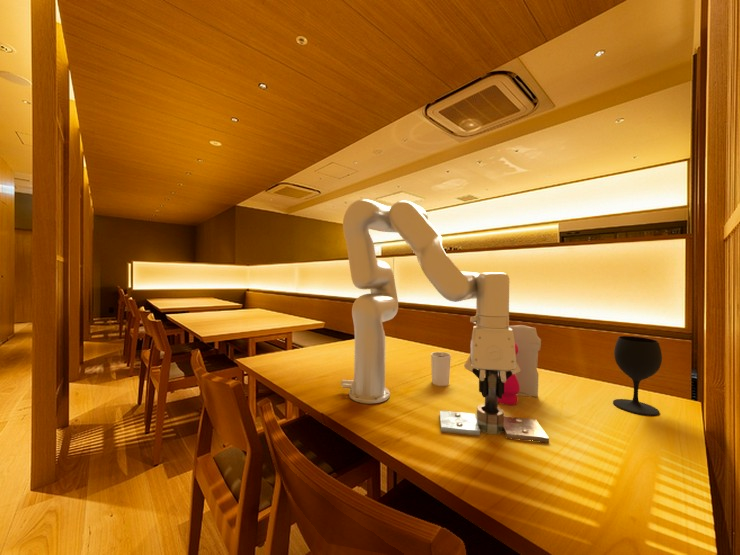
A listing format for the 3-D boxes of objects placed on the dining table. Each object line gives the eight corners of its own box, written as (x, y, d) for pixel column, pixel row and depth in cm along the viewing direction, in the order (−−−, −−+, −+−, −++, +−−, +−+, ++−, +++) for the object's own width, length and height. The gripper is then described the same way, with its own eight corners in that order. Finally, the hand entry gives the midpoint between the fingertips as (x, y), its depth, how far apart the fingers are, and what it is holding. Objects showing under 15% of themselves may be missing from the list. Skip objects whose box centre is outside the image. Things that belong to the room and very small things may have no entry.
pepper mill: (522, 407, 90) (523, 338, 89) (495, 404, 91) (497, 336, 90) (515, 397, 97) (517, 333, 96) (491, 395, 98) (492, 331, 98)
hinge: (441, 431, 75) (441, 413, 75) (439, 414, 84) (440, 398, 84) (548, 443, 71) (549, 423, 71) (535, 423, 80) (535, 406, 80)
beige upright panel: (539, 394, 99) (541, 325, 98) (539, 399, 95) (541, 327, 95) (503, 388, 104) (504, 322, 103) (501, 392, 100) (503, 324, 100)
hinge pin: (485, 410, 76) (486, 369, 76) (483, 404, 79) (484, 365, 79) (498, 411, 76) (499, 370, 75) (496, 405, 79) (496, 366, 78)
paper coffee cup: (452, 382, 109) (453, 353, 109) (446, 388, 103) (447, 358, 103) (434, 378, 113) (435, 350, 112) (427, 383, 107) (428, 355, 107)
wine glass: (651, 404, 93) (653, 337, 92) (666, 419, 83) (669, 345, 83) (608, 397, 97) (610, 334, 97) (618, 411, 88) (620, 340, 87)
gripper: (459, 323, 75) (458, 399, 75) (532, 326, 72) (531, 405, 72) (456, 318, 82) (456, 387, 82) (523, 320, 79) (522, 392, 79)
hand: (491, 395), depth 77 cm, fingers closed on hinge pin, 3 cm apart
